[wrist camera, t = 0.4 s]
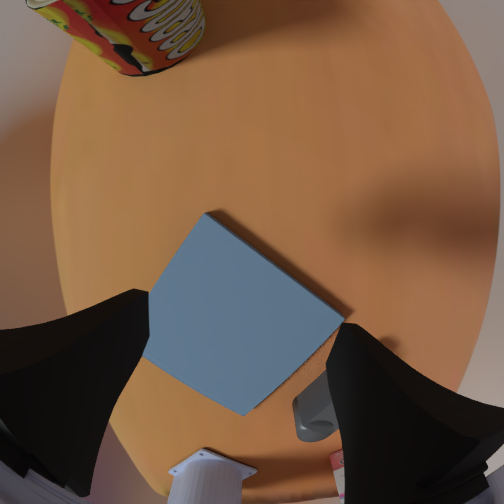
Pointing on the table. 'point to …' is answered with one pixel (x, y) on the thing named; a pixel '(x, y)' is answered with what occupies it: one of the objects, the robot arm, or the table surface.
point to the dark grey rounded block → (315, 411)
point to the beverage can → (130, 30)
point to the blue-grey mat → (232, 319)
